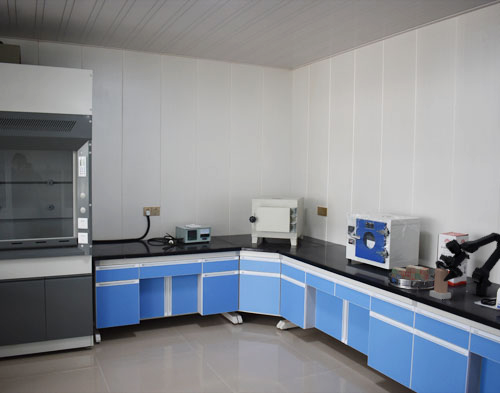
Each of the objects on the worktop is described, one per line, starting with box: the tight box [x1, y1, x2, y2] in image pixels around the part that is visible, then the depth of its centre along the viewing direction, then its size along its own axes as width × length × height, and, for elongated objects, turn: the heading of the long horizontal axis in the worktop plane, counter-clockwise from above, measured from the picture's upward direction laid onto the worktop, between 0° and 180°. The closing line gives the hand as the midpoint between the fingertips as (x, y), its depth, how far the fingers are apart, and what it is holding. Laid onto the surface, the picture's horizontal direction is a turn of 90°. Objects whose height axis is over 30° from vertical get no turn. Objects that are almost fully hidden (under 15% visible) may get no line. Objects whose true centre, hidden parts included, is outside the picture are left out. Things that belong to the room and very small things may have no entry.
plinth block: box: [429, 289, 452, 300], centre depth 258 cm, size 8×8×3 cm
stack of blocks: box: [391, 264, 430, 285], centre depth 282 cm, size 21×6×12 cm, turn 47°
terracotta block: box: [433, 268, 449, 293], centre depth 257 cm, size 5×5×13 cm
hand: (438, 278), depth 257 cm, fingers open, 9 cm apart
